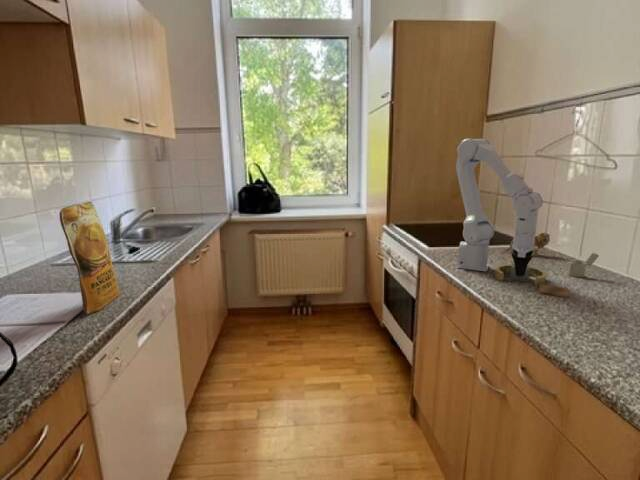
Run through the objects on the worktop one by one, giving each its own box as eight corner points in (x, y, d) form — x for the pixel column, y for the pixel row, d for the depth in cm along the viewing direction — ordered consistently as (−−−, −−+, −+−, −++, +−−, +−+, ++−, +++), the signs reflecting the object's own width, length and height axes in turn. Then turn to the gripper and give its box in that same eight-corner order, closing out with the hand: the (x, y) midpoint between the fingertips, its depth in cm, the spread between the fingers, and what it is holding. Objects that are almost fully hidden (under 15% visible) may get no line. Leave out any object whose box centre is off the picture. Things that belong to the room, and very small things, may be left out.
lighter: (569, 275, 119) (572, 252, 117) (567, 274, 120) (571, 250, 119) (595, 278, 116) (599, 253, 114) (593, 276, 118) (597, 252, 116)
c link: (510, 279, 116) (511, 267, 115) (511, 275, 120) (512, 263, 119) (528, 281, 114) (529, 269, 113) (528, 278, 117) (530, 266, 116)
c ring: (493, 279, 116) (494, 272, 116) (498, 267, 129) (499, 260, 128) (545, 287, 109) (546, 279, 109) (545, 273, 122) (546, 265, 121)
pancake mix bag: (66, 318, 93) (46, 209, 87) (105, 291, 112) (91, 199, 106) (93, 317, 94) (75, 208, 87) (128, 290, 112) (114, 199, 106)
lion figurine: (546, 254, 144) (549, 231, 142) (549, 257, 140) (552, 234, 138) (504, 250, 150) (507, 229, 148) (506, 254, 145) (508, 231, 143)
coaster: (539, 293, 104) (539, 291, 104) (539, 285, 110) (539, 284, 110) (568, 297, 101) (568, 295, 101) (567, 289, 107) (567, 287, 107)
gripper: (539, 237, 105) (534, 282, 108) (540, 228, 117) (535, 269, 120) (512, 235, 109) (507, 278, 112) (515, 227, 121) (511, 266, 124)
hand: (520, 273), depth 116 cm, fingers closed on c link, 4 cm apart
